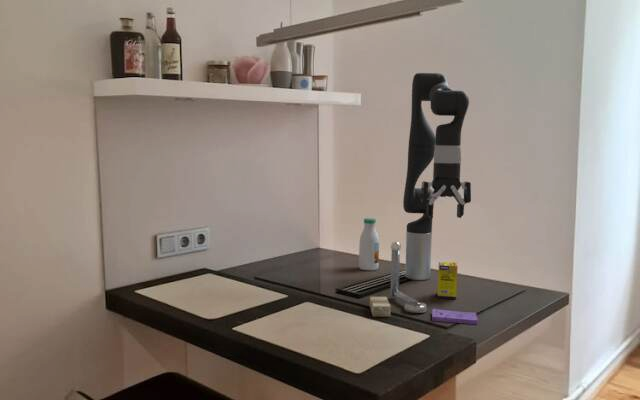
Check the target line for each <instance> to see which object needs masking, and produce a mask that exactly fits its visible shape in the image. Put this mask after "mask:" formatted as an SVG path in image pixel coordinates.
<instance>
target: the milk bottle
mask: <svg viewBox="0 0 640 400" xmlns="http://www.w3.org/2000/svg"><path fill="white" fill-rule="evenodd" d="M376 222H377V221H376V218H373V217H366V218H363V230H362V232H361V233H360V236H359V244H358V245H359V247H358V249H359V250H358V268H359V269H360V270H363V271H377V270H378V269H379V261H380V260H379V259H380V239H379V235H378V232H377V229H376Z"/></svg>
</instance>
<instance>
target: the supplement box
mask: <svg viewBox="0 0 640 400" xmlns="http://www.w3.org/2000/svg"><path fill="white" fill-rule="evenodd" d="M437 273H438V274H437V275H438V276H437V277H438V278H437V294H436V295H437V298H438V299H446V300H447V299H450V300H456V299H457V286H458V285H457V284H458V283H457V282H458V281H457V280H458V262H451V261H438V272H437Z"/></svg>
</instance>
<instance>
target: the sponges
mask: <svg viewBox="0 0 640 400" xmlns="http://www.w3.org/2000/svg"><path fill="white" fill-rule="evenodd" d="M431 318H432V320H431V321H433V322H434V321H435V322H444V323H445V322H446V323H455V324H456V323H458V324H469V325H478V323H479V322H478V321H479V320H478V316H477V313H476V312H469V311H468V312H467V311H456V310H449V309H448V310H445V309H439V308H438V309H437V308H432V317H431Z"/></svg>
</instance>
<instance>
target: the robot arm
mask: <svg viewBox="0 0 640 400" xmlns="http://www.w3.org/2000/svg"><path fill="white" fill-rule="evenodd" d="M422 102H430V110H431V112H432V114H434V115H435V116H439V117H440V116H442V117H443V116H444V117H445V116H447V117H448V116H452V117H453V116H454V117H453V119H452V121H450V122H448V123H442V124H438V126H437V125H436V129H435V131H433V129H432V127H431V125H430V124H429V122H428V120H427V118H426V116H425V114H424V112H423V107H422ZM469 104H470V98H469V95H468V93H467V92H466V91H464V90H454V89H452V88H451V87H450V86H449V83H448V80H447V77H446V76H445V75H444V74H442V73H438V72H433V73H432V72H417V73H415V74H414V76H413V78H412V85H411V115H410V117H411V118H410V120H411V121H410V129H409V137H408V147H407V148H408V150H407V168H406V169H407V170H406V180H405V185H404V191H403V201H402V202H403V203H402V204H403V205H402V206H403V210H404V212H405V213H407V214H422V216H420V217H419V218H418V219H416V220H414V221H410V222H409V223H407V224H406V233H405V234H406V236H405V237H406V238H405V239H406V240H405V241H406V242H405V263H404V264H405V269H404V277H405V278H407V279H409V280H414V281H423V280H424V281H425V280H429V279H430V278H431V267H432V265H431V263H432V241H433V239H432V234H433V218H434V205H435V202H436V200H438V199H439V197H441V198H446V197H449V198H452V197H453V198H454V199H455V201H456V202H457V204H456V205H457V206H456V218H458V219H462V217H463V216H464V214H465V212H464V211H465V205H466V204H469V203H471V201H472V187H471V186H472V184H471V182H469V181H464V182H463V181H462V182H461V180H460V178H461V163H462V162H461V161H462V152H461V150H462V149H461V144H462V143H461V141H462V140H461V139H462V129H463V124H464V121H465V117H466V115H467V112H468V109H469V106H470V105H469ZM434 132H435V133H434ZM432 161H433V170H432V171H433V173H432V177H433V178H432V181H431V182H430V181H425V180H423V181H422V182H421V188H420V187H418V188H417V187H416V184H417V182H418V180H419V178H420V177H421V175H422V174H423V172H424V171H425V170H426V168H428V167H429V166H430V164H431V162H432ZM460 188H462V190H463V198H462V195H461V194H460V193H459V190H460Z"/></svg>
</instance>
